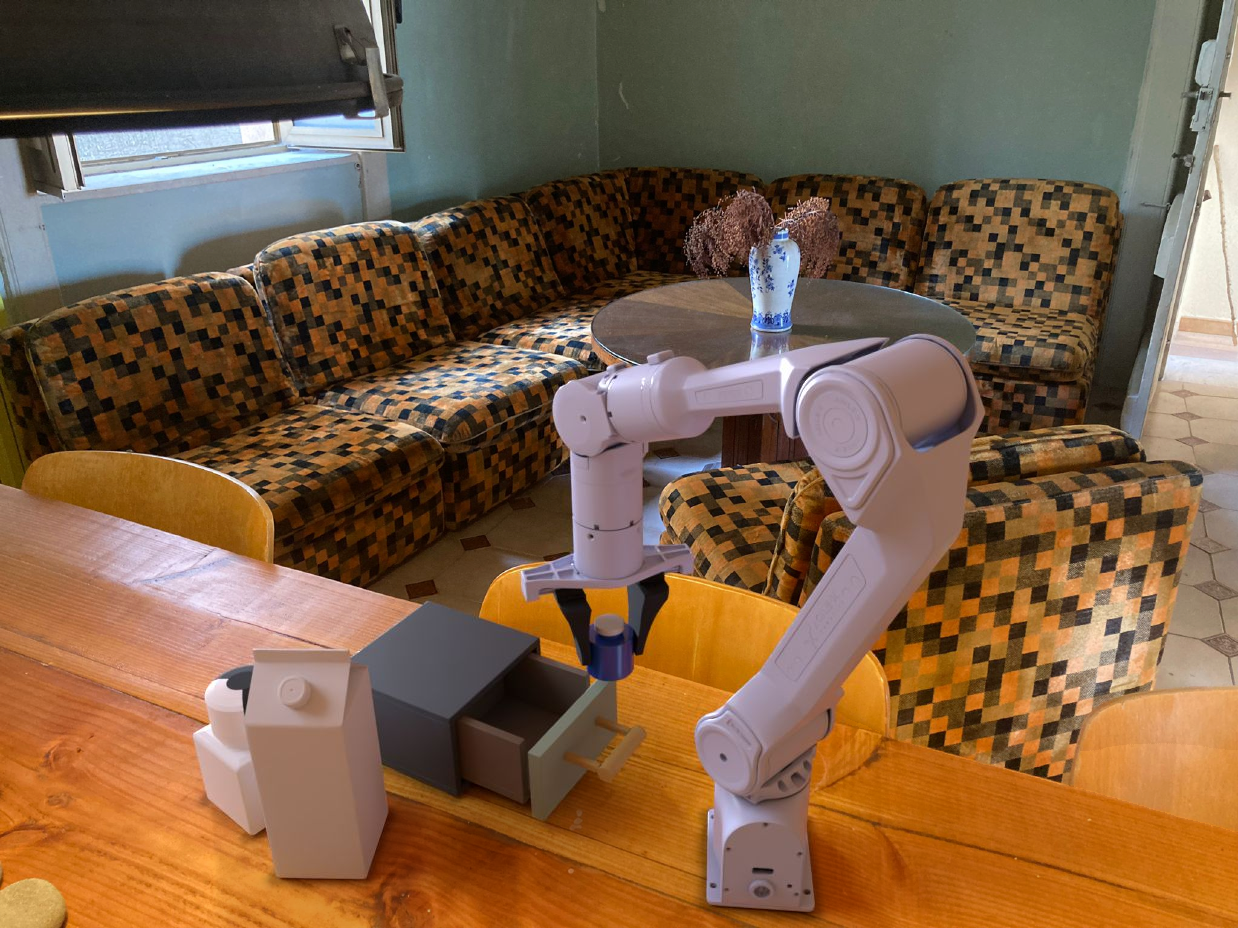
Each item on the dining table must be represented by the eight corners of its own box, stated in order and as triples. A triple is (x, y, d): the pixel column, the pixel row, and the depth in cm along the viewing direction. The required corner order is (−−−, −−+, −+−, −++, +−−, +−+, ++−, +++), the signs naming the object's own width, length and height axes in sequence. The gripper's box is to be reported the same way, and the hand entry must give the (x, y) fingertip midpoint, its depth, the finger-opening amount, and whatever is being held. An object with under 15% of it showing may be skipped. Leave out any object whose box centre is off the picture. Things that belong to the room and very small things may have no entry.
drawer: (663, 751, 87) (663, 690, 84) (593, 842, 77) (591, 777, 74) (507, 694, 94) (503, 636, 92) (425, 770, 85) (418, 709, 82)
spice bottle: (644, 668, 84) (643, 622, 82) (607, 688, 82) (606, 641, 80) (612, 647, 87) (611, 602, 85) (576, 666, 85) (574, 620, 83)
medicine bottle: (279, 754, 88) (257, 644, 83) (326, 789, 84) (305, 676, 79) (206, 799, 83) (178, 684, 78) (252, 838, 79) (225, 720, 74)
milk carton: (305, 811, 82) (270, 621, 74) (389, 812, 81) (362, 622, 73) (276, 879, 75) (233, 678, 67) (366, 880, 75) (334, 679, 67)
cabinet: (544, 709, 93) (540, 637, 90) (457, 797, 83) (449, 719, 79) (435, 669, 99) (428, 600, 96) (342, 747, 89) (329, 671, 85)
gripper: (674, 482, 84) (672, 614, 89) (509, 506, 80) (518, 643, 85) (705, 517, 78) (701, 657, 83) (528, 545, 74) (536, 690, 79)
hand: (610, 653), depth 84 cm, fingers closed on spice bottle, 4 cm apart
